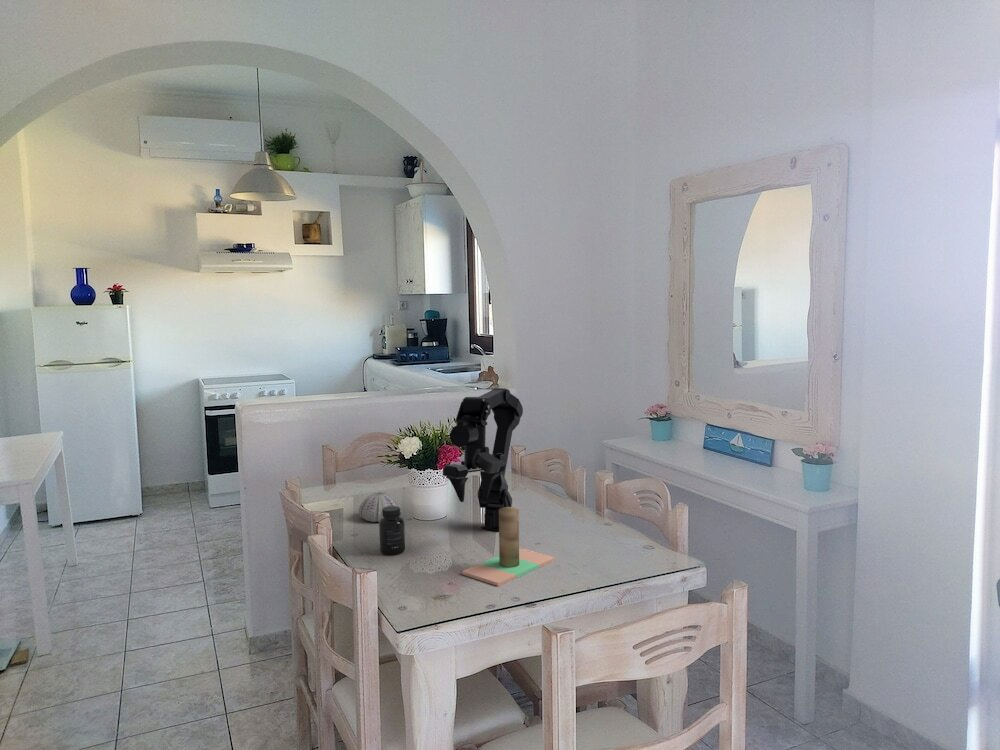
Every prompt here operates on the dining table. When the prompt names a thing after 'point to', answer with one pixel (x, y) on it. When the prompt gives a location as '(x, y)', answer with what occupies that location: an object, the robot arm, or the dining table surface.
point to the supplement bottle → (391, 531)
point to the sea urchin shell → (376, 506)
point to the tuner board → (500, 575)
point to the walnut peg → (509, 537)
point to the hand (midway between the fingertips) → (474, 499)
